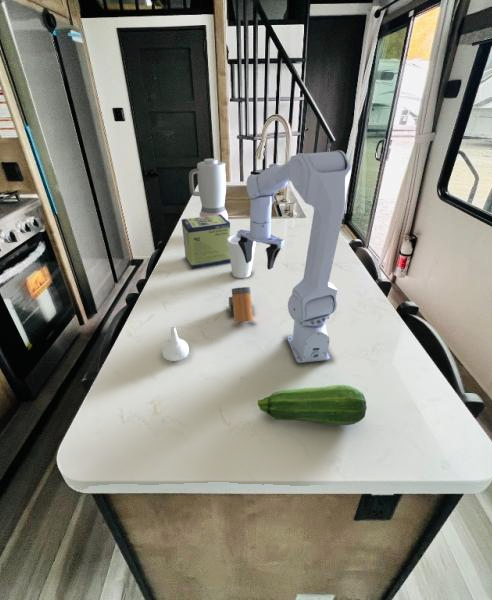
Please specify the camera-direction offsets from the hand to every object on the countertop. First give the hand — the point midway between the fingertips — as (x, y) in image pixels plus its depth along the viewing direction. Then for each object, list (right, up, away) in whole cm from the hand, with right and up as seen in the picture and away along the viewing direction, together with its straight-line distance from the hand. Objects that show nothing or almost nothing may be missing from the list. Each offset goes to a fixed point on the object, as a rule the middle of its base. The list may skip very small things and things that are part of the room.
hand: (259, 264), depth 95 cm
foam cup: (-5, -1, +17) cm, 18 cm away
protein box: (-18, +5, +27) cm, 33 cm away
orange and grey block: (-5, -16, -6) cm, 18 cm away
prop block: (-6, -14, -3) cm, 15 cm away
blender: (-18, +17, +46) cm, 53 cm away
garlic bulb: (-21, -24, -18) cm, 37 cm away
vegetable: (+8, -33, -33) cm, 47 cm away
